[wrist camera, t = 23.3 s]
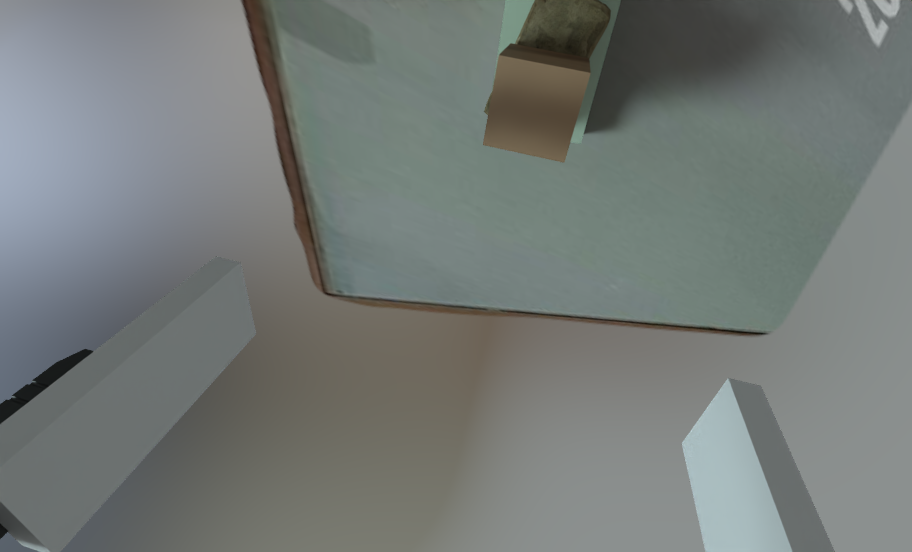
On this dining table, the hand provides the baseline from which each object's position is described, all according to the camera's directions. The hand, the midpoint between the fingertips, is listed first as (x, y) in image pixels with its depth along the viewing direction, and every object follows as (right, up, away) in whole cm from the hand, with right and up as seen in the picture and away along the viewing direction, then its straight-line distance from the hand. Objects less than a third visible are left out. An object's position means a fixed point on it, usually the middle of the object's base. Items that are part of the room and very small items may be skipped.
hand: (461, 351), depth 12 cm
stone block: (+8, +21, +26) cm, 34 cm away
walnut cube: (+6, +17, +23) cm, 29 cm away
